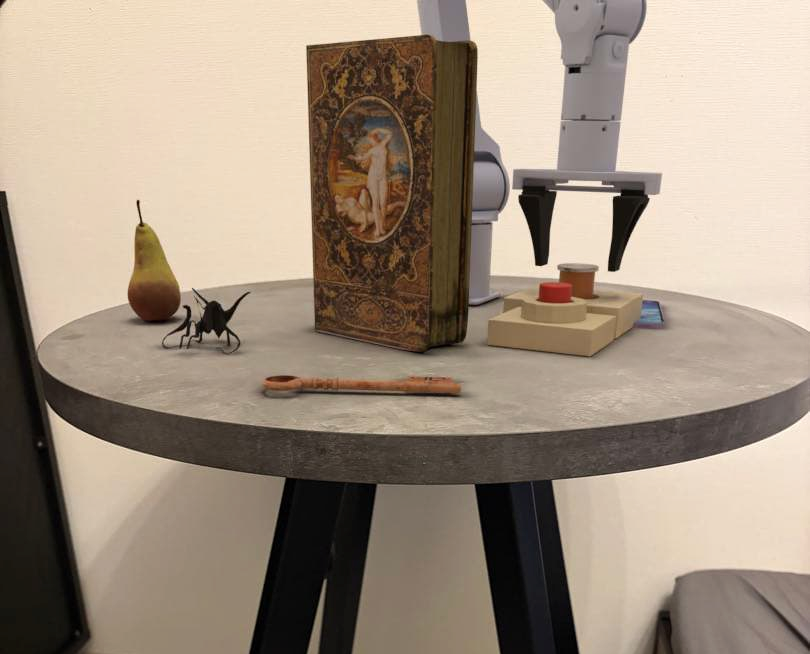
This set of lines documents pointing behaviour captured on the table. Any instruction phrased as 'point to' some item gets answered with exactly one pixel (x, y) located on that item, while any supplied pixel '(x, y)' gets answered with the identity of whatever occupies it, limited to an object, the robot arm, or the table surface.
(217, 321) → the creature
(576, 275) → the cylinder
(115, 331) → the table surface
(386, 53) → the book
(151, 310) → the fruit
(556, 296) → the button
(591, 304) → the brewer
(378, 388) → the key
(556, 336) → the panel
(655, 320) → the smartphone
